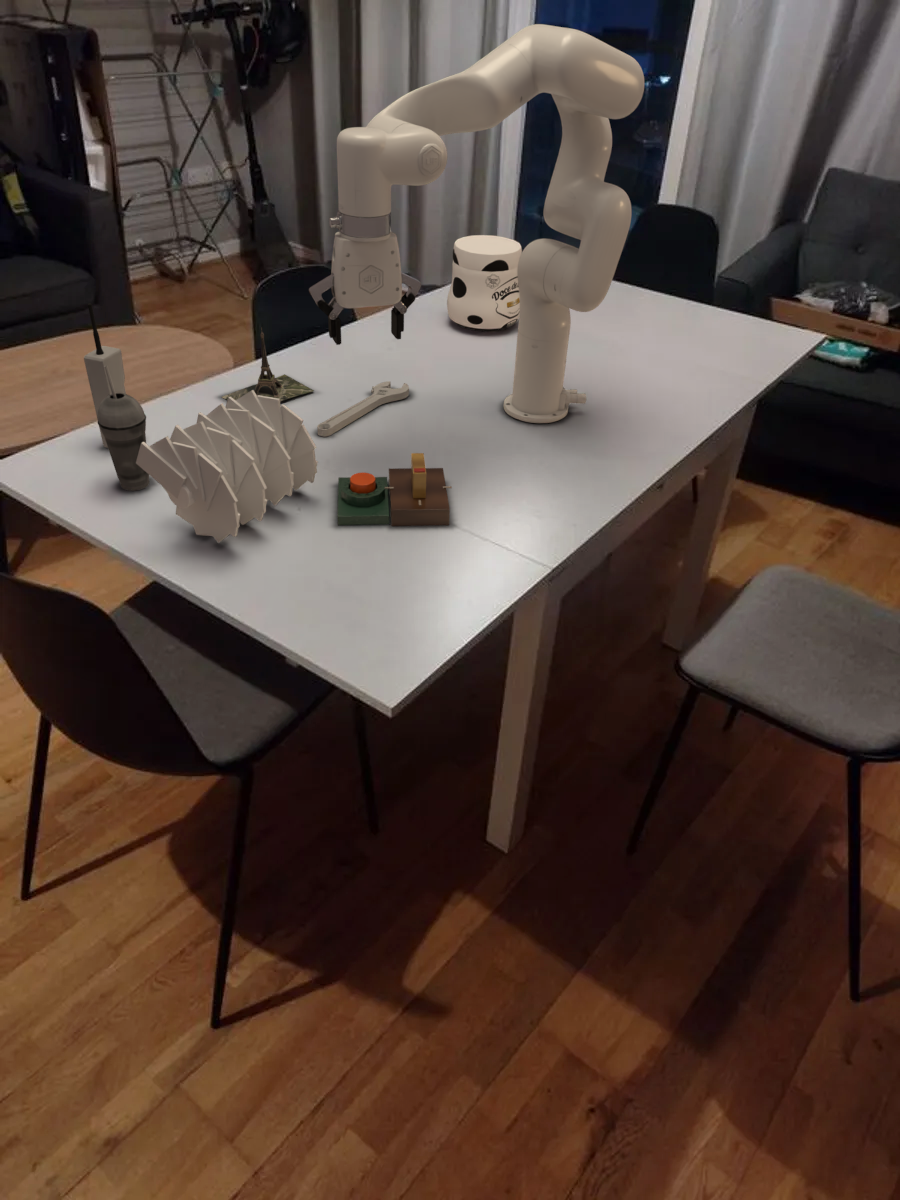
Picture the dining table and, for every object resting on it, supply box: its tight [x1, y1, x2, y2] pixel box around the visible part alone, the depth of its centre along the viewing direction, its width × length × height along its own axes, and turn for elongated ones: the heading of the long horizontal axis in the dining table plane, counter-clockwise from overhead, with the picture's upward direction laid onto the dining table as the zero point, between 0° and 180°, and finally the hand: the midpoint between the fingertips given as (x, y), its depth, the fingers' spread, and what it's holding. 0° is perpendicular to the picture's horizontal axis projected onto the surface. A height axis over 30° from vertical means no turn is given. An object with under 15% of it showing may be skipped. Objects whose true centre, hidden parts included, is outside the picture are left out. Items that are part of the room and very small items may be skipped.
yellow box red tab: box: [410, 452, 427, 498], centre depth 139 cm, size 6×2×5 cm, turn 5°
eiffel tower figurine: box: [221, 326, 315, 402], centre depth 169 cm, size 15×10×13 cm
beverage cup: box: [97, 365, 150, 492], centre depth 138 cm, size 7×7×20 cm
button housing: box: [336, 476, 390, 526], centre depth 141 cm, size 12×8×4 cm, turn 5°
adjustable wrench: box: [316, 380, 410, 438], centre depth 168 cm, size 25×6×2 cm, turn 142°
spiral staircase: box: [136, 390, 319, 544], centre depth 134 cm, size 18×18×25 cm
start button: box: [349, 472, 376, 494], centre depth 140 cm, size 4×4×2 cm
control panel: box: [385, 467, 453, 527], centre depth 142 cm, size 13×11×3 cm
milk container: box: [446, 234, 523, 332], centre depth 202 cm, size 17×17×18 cm
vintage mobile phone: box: [83, 302, 127, 449], centre depth 147 cm, size 4×5×25 cm
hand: (366, 338), depth 138 cm, fingers open, 9 cm apart
